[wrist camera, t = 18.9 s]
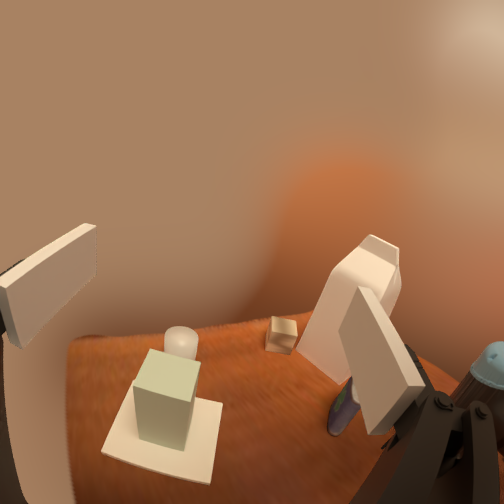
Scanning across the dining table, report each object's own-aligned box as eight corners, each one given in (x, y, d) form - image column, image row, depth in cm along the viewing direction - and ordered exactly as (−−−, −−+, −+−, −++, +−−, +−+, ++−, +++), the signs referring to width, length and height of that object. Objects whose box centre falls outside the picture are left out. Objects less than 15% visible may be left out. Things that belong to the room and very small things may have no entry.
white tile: (222, 406, 39) (222, 403, 39) (209, 485, 26) (210, 483, 26) (134, 382, 39) (133, 379, 38) (101, 453, 26) (100, 451, 25)
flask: (339, 438, 36) (372, 397, 32) (322, 433, 37) (353, 390, 33) (348, 400, 45) (375, 357, 41) (333, 395, 45) (359, 352, 42)
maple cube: (288, 339, 59) (295, 321, 57) (289, 355, 54) (297, 336, 52) (265, 335, 59) (271, 316, 57) (265, 350, 54) (271, 331, 52)
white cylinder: (195, 365, 46) (201, 330, 43) (189, 386, 41) (194, 351, 38) (167, 358, 46) (170, 322, 43) (159, 378, 41) (160, 342, 38)
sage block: (192, 417, 35) (200, 362, 31) (183, 451, 30) (190, 401, 25) (151, 406, 35) (150, 348, 30) (139, 439, 29) (132, 385, 25)
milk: (295, 349, 56) (340, 228, 46) (327, 333, 64) (369, 227, 54) (339, 385, 48) (402, 260, 38) (367, 362, 56) (421, 253, 46)
